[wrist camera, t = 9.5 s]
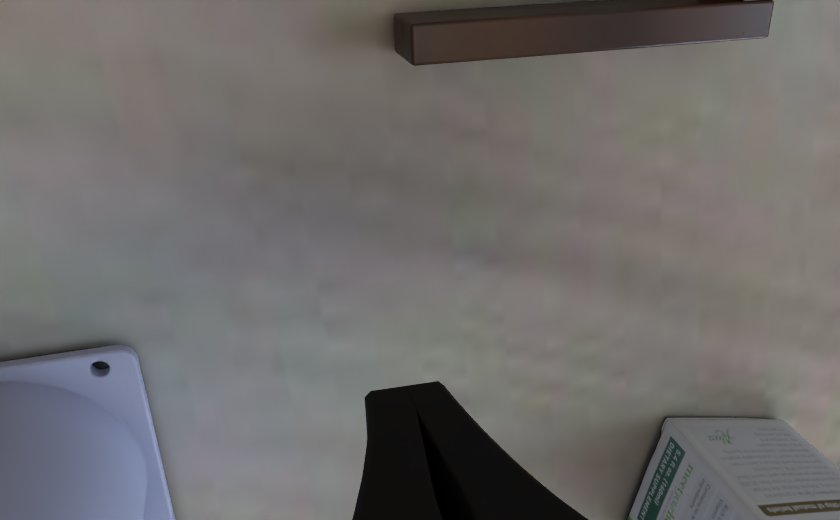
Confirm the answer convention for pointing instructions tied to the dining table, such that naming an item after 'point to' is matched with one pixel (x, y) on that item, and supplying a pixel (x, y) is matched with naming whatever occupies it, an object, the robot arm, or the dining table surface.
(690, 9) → the frame
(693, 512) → the syrup box
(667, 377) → the dining table surface
